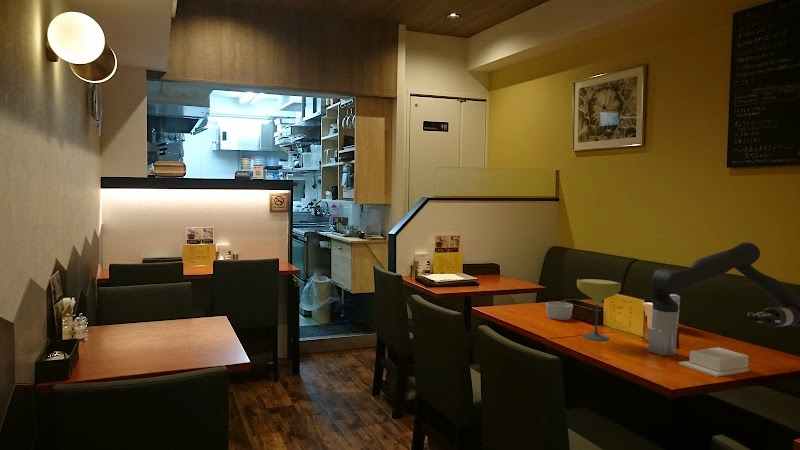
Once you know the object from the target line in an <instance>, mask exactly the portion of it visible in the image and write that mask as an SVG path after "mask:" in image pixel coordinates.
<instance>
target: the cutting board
mask: <svg viewBox="0 0 800 450" xmlns="http://www.w3.org/2000/svg"><path fill="white" fill-rule="evenodd" d="M678 365H680V366H683V367H686V368H688V369H692V370H695V371H698V372H701V373H704V374H707V375H710V376H712V377H716V378H718V377H723V376H729V375H734V374H741V373H746V372H750V369H749V368H748V367H746V368H740V369H734V370H728V371H722V372H718V371H715V370H712V369H709V368H705V367H702V366H699V365H696V364H693V363H690V362H689V360H685V361H679V362H678Z"/></svg>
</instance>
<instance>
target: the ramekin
mask: <svg viewBox="0 0 800 450" xmlns="http://www.w3.org/2000/svg"><path fill="white" fill-rule="evenodd" d="M545 306H546V310H545V311H546V316H547V318H549V319H551V320H559V321H567V320H570V319H571V318H572V313H573V309H574V305H573V304H571V303H569V302H568V303H567V302H562V301H548V302H545Z"/></svg>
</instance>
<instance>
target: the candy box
mask: <svg viewBox="0 0 800 450" xmlns="http://www.w3.org/2000/svg"><path fill="white" fill-rule="evenodd" d="M670 297H671V298H672V300H673V301H675V302H676V303H677V304H678V320H677V324H678V326H679V323H680V322H679V321H680V306H681V295H678V294H670Z"/></svg>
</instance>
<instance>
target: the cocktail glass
mask: <svg viewBox="0 0 800 450" xmlns="http://www.w3.org/2000/svg"><path fill="white" fill-rule="evenodd" d="M576 287H577V289H578V290H579V291H580V292H581V293H583V294H585V295H586V296H588V297H589V298H591V299H592V300H593V302H594V303H595V304H596V309H595V310H596V311H595V312H596V313H595V324H594V325H595V327H594V331H593V333H584V334H582V337H583V338H584V339H586V340H590V341H597V342H600V341H601V342H602V341H603V342H604V341H608V340H609V339H610V338H609V336H606V335H603V334H599V333H598V318H599V317H598V316H599V313H598V312H599V304H601V303H602V302H603V301H604V300H605V299H607V298H611V297H613V296H615V295H617V294H619V293H620V291H621V290H622V289H621V288H622V283H621V281H619V280H617V279H611V278H603V277H592V276H591V277H588V276H586V277H578V278H577V280H576Z"/></svg>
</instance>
